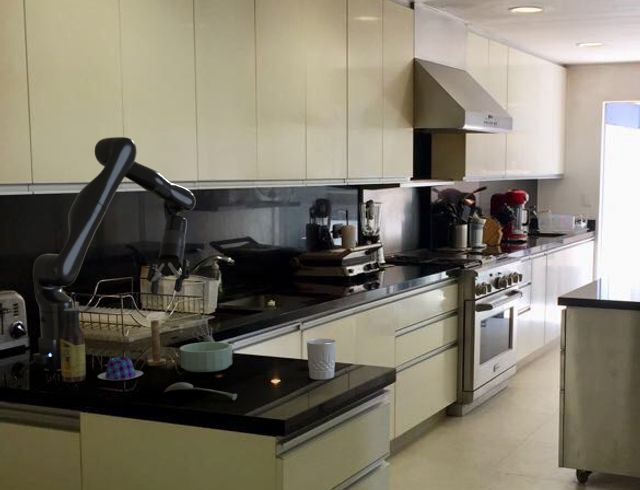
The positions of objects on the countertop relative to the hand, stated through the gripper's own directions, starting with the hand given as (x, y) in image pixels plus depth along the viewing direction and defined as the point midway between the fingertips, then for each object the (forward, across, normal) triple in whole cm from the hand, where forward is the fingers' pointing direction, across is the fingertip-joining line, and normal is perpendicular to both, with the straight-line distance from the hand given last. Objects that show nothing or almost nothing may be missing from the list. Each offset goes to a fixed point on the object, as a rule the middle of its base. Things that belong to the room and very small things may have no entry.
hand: (165, 292), depth 296 cm
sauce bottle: (+39, -2, -32) cm, 50 cm away
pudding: (+37, +8, -25) cm, 45 cm away
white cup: (+36, +62, -8) cm, 72 cm away
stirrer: (+28, +8, -10) cm, 31 cm away
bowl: (+30, +25, -9) cm, 40 cm away
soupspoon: (+47, +40, -34) cm, 70 cm away
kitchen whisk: (+14, +9, +15) cm, 22 cm away
